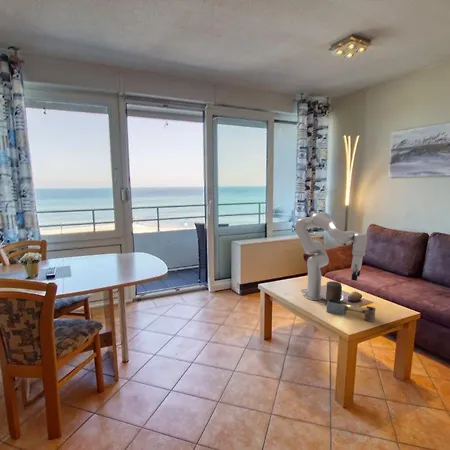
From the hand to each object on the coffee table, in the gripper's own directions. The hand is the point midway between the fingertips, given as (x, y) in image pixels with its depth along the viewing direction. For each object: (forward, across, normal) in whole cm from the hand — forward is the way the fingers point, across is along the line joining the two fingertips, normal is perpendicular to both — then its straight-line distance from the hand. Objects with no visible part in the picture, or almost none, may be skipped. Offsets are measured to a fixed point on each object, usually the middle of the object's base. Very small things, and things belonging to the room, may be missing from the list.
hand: (355, 278), depth 195 cm
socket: (+23, +6, +12) cm, 26 cm away
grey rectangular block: (+24, +7, -8) cm, 26 cm away
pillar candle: (+24, -9, -14) cm, 30 cm away
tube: (+20, +6, +3) cm, 21 cm away
